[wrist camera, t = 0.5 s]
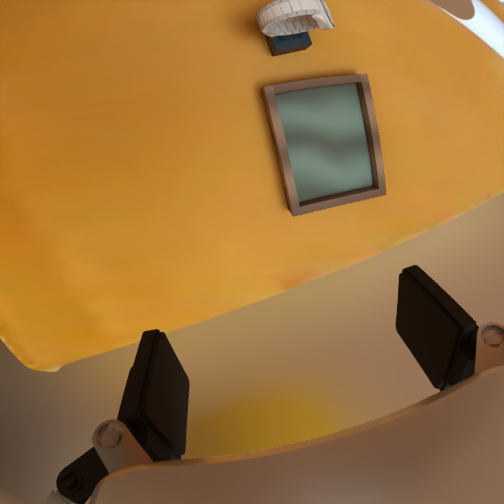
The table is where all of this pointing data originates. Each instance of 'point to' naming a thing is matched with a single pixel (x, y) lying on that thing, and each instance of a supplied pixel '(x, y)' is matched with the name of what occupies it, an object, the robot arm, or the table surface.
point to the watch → (292, 23)
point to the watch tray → (325, 141)
